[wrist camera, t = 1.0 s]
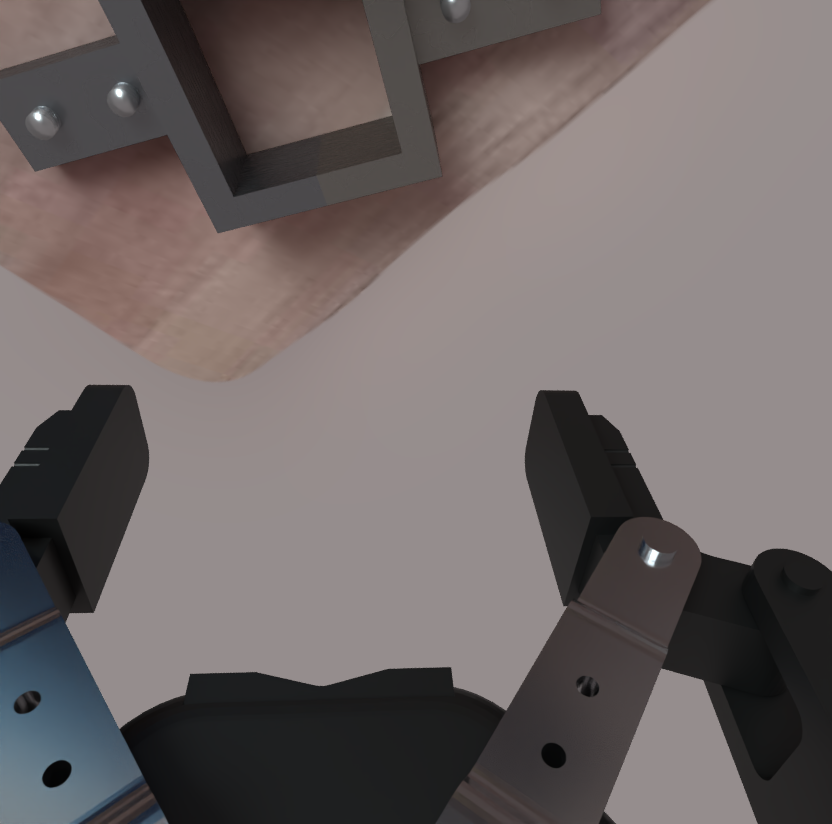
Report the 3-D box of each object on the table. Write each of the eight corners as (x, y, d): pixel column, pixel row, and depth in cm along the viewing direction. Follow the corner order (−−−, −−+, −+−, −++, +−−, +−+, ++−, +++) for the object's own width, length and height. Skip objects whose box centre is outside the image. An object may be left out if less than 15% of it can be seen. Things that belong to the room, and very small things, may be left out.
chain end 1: (94, 225, 36) (67, 271, 32) (-73, -28, 27) (-131, 1, 24) (331, 163, 34) (327, 205, 31) (231, -129, 25) (211, -112, 22)
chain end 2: (331, 163, 34) (327, 205, 31) (231, -129, 25) (211, -112, 22) (595, 93, 32) (620, 131, 29) (580, -244, 24) (612, -244, 21)
